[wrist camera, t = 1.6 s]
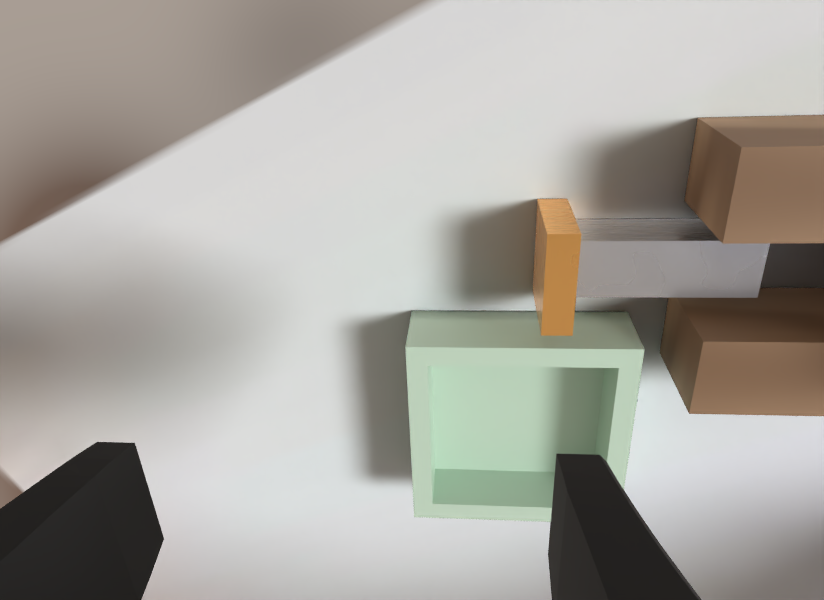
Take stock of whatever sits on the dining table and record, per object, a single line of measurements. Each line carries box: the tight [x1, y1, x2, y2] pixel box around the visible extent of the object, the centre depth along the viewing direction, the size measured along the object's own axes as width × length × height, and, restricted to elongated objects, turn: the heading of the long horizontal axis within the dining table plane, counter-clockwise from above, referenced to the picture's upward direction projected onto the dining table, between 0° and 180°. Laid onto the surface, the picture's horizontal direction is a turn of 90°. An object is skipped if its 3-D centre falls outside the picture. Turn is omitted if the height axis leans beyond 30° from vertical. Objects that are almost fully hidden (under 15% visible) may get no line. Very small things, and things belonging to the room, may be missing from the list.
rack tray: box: [405, 311, 645, 522], centre depth 20 cm, size 6×6×2 cm
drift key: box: [533, 199, 770, 336], centre depth 17 cm, size 3×6×3 cm, turn 92°
